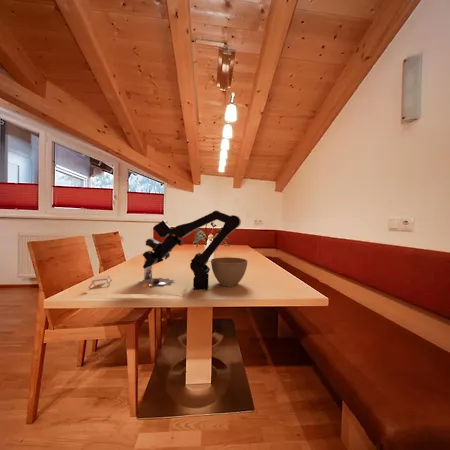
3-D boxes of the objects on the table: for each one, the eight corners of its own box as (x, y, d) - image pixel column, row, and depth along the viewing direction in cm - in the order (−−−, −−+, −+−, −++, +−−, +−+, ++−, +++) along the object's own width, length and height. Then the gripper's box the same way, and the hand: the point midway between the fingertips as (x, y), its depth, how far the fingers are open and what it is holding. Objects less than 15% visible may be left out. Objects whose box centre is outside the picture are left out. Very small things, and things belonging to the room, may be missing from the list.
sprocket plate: (177, 281, 122) (177, 275, 122) (171, 291, 105) (171, 284, 105) (143, 280, 122) (143, 274, 122) (131, 290, 105) (131, 283, 105)
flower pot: (222, 278, 132) (223, 256, 131) (252, 283, 122) (253, 259, 122) (203, 285, 116) (203, 260, 116) (235, 291, 107) (236, 264, 107)
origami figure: (107, 292, 101) (107, 280, 101) (86, 292, 101) (87, 280, 101) (118, 284, 113) (118, 274, 113) (99, 284, 113) (100, 274, 113)
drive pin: (152, 277, 118) (153, 255, 118) (150, 279, 114) (151, 256, 114) (145, 277, 118) (145, 255, 118) (143, 279, 114) (143, 256, 114)
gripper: (164, 231, 124) (144, 252, 126) (147, 233, 106) (123, 257, 108) (178, 247, 123) (157, 267, 125) (163, 252, 105) (139, 276, 107)
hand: (145, 266), depth 116 cm, fingers closed on drive pin, 4 cm apart
